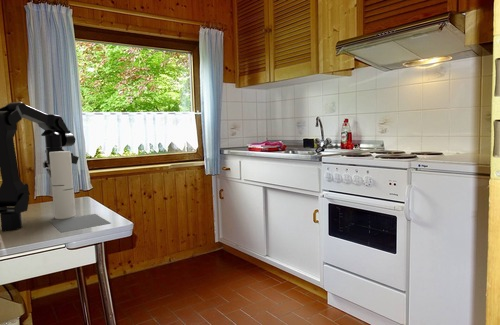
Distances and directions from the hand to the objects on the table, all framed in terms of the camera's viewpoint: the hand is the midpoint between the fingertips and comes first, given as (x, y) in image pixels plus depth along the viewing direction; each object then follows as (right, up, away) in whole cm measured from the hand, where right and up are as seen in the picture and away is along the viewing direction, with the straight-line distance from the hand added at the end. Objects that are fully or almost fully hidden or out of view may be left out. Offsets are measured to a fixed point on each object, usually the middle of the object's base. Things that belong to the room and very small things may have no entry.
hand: (57, 186), depth 143 cm
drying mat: (+18, -12, -18) cm, 28 cm away
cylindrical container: (+7, -12, -8) cm, 16 cm away
